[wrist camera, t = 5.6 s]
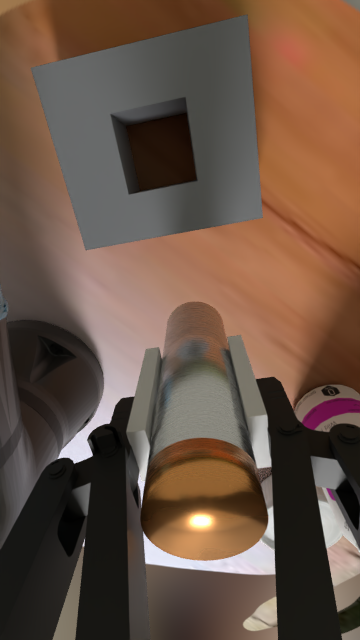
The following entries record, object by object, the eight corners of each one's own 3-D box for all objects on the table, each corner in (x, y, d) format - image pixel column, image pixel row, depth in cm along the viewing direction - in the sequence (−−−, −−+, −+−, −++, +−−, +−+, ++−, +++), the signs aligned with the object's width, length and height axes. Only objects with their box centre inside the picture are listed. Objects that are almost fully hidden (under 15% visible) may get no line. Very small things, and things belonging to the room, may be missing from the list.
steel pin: (172, 355, 24) (154, 565, 11) (161, 306, 22) (126, 484, 9) (226, 348, 23) (272, 555, 11) (219, 297, 22) (263, 469, 9)
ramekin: (232, 489, 45) (237, 526, 40) (297, 449, 42) (311, 484, 37) (281, 527, 48) (291, 566, 43) (345, 493, 45) (364, 531, 40)
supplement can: (278, 405, 39) (327, 530, 25) (340, 368, 36) (431, 484, 23) (313, 444, 41) (375, 578, 28) (373, 412, 39) (473, 541, 25)
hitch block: (104, 237, 31) (85, 250, 26) (63, 90, 26) (30, 67, 21) (249, 210, 30) (262, 217, 24) (234, 49, 25) (247, 14, 19)
